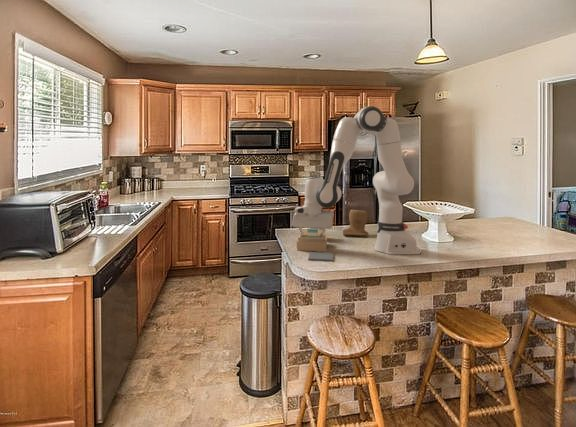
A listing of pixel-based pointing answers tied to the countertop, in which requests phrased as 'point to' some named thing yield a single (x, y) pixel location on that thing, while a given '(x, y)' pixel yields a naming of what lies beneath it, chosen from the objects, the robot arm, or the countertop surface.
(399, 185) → the robot arm
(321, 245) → the carton
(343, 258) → the countertop surface
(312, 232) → the tea box
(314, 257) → the mat
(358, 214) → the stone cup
